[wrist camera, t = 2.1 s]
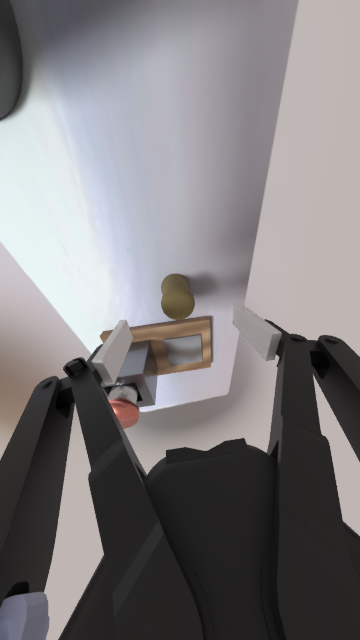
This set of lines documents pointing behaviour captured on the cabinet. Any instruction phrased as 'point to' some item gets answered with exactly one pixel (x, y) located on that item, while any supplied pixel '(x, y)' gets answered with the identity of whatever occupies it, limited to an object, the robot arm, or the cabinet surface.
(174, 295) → the olive knobbed peg
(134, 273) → the cabinet surface
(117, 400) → the press plunger
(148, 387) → the grey push button box
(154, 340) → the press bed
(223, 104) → the cabinet surface
